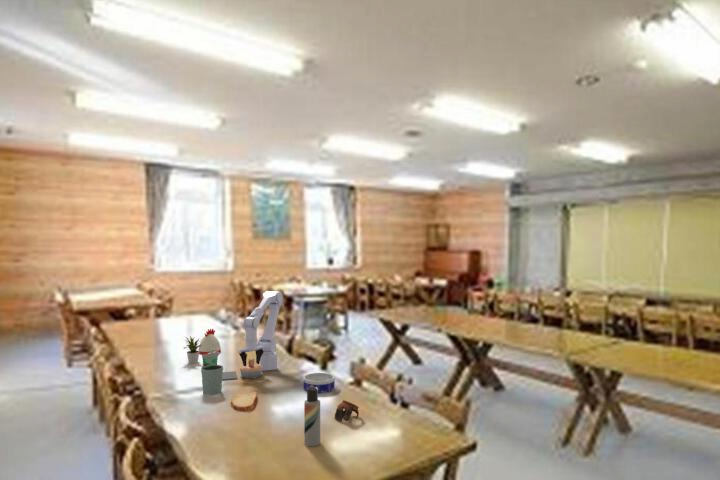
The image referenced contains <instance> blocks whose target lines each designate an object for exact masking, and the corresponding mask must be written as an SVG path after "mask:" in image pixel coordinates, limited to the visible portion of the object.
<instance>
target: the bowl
mask: <svg viewBox="0 0 720 480" xmlns="http://www.w3.org/2000/svg"><path fill="white" fill-rule="evenodd" d="M261 376H263V371H262V369H261V370H258V371H241V370H240V377H241V378H244V379H256V378H259V377H261Z"/></svg>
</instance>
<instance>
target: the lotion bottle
mask: <svg viewBox="0 0 720 480" xmlns="http://www.w3.org/2000/svg"><path fill="white" fill-rule="evenodd" d="M318 398H319V393H318V388H317V387H308V389H307V392H306V400H304V405H303V406H304V409H303V412H304V417H303V418H304V419H303V420H304V424H303V426H304V428H303V429H304V430H303V431H304V434H303V437H304V438H303V439H304V445H305V446H307V447H317V446H320V444H321V400H320V399H318Z"/></svg>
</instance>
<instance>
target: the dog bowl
mask: <svg viewBox="0 0 720 480" xmlns="http://www.w3.org/2000/svg"><path fill="white" fill-rule="evenodd" d="M335 380H336V377H335V375H334V374H333V373H329V372H328V373H327V372H312V373H308V374H305V375H304V376H303V382H302V383H303V391H304V392H306V393H307V389H308V387H317V388H318V394H326V393H330V392H332V390H333V391H334V390H335V383H336V381H335Z"/></svg>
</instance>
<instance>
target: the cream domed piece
mask: <svg viewBox="0 0 720 480" xmlns="http://www.w3.org/2000/svg"><path fill="white" fill-rule="evenodd" d="M205 332H206V333H204V336H203V337H202V340H201V339H200V340H201V341H200V342H199V345H201V346H199V347H198V348H197V351H199V355H202V354H207V353H210V352H212V350H217V351H218V353H219V354H220V353H221V352H222V348H221V344H220V341H219V339H218V338H217V337H216V336H215V333H216V330H214V328H212V329H211V328H210V329H207V331H205ZM202 346H203V347H202Z"/></svg>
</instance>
